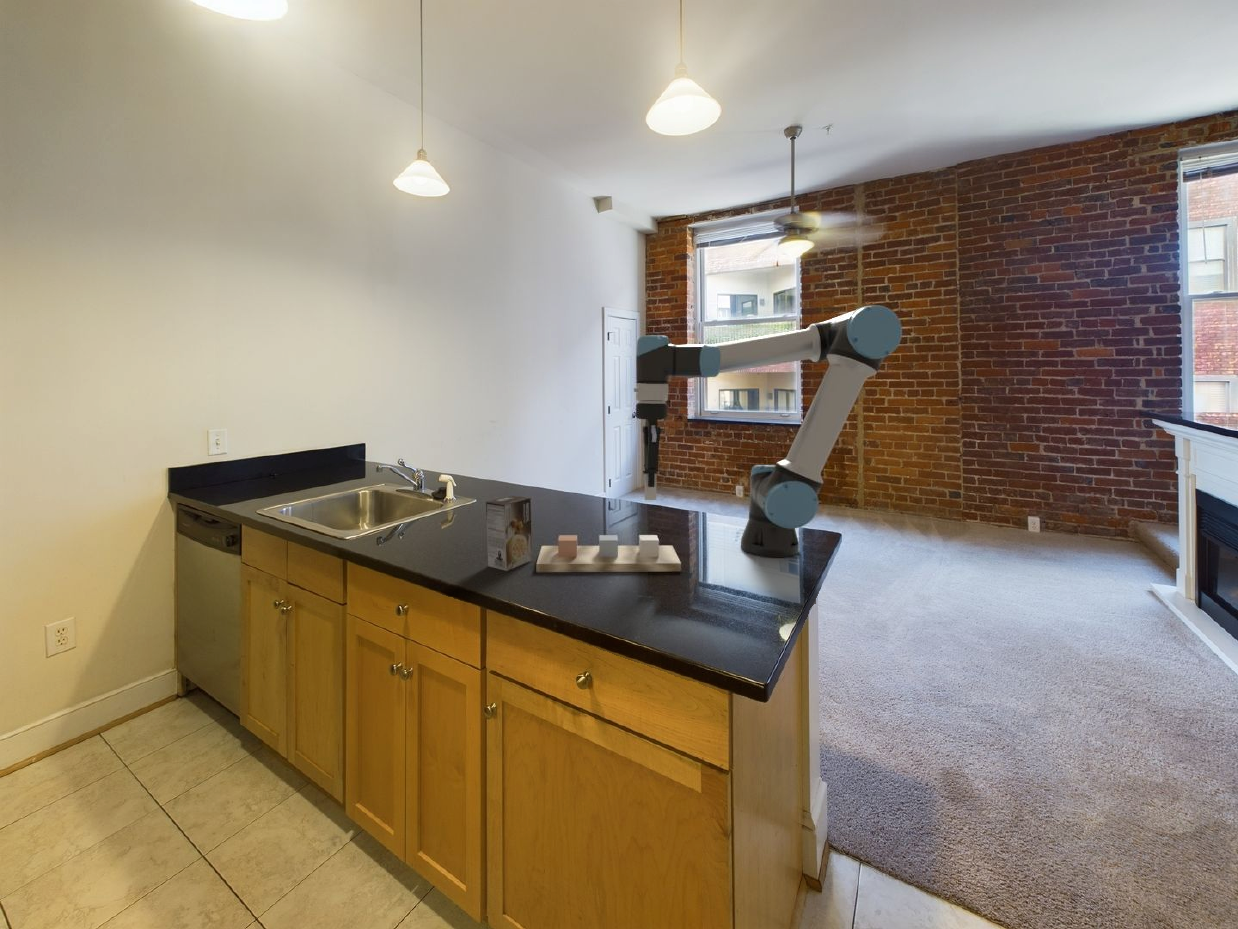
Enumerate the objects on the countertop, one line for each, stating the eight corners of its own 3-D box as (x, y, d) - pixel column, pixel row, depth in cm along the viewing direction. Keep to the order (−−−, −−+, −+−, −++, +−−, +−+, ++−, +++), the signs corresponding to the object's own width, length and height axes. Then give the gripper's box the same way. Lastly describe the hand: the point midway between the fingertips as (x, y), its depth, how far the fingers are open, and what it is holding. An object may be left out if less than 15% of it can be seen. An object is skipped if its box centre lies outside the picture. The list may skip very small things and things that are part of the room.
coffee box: (513, 556, 136) (512, 494, 133) (532, 561, 132) (531, 497, 130) (486, 566, 128) (485, 501, 126) (506, 571, 125) (505, 504, 122)
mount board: (672, 552, 140) (672, 534, 140) (680, 571, 126) (681, 551, 126) (542, 553, 138) (541, 534, 138) (536, 572, 125) (536, 551, 124)
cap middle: (617, 551, 135) (617, 535, 134) (617, 557, 130) (618, 540, 129) (599, 551, 134) (599, 535, 134) (599, 557, 130) (599, 540, 129)
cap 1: (577, 551, 134) (577, 535, 133) (576, 557, 130) (576, 540, 129) (559, 551, 134) (559, 535, 133) (558, 557, 129) (558, 540, 129)
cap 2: (656, 551, 135) (656, 535, 134) (658, 556, 131) (659, 540, 130) (638, 551, 135) (639, 535, 134) (640, 557, 130) (640, 540, 130)
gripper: (633, 401, 133) (633, 493, 137) (638, 403, 120) (637, 505, 124) (663, 401, 134) (662, 493, 137) (671, 403, 121) (669, 505, 124)
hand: (650, 499), depth 131 cm, fingers closed
